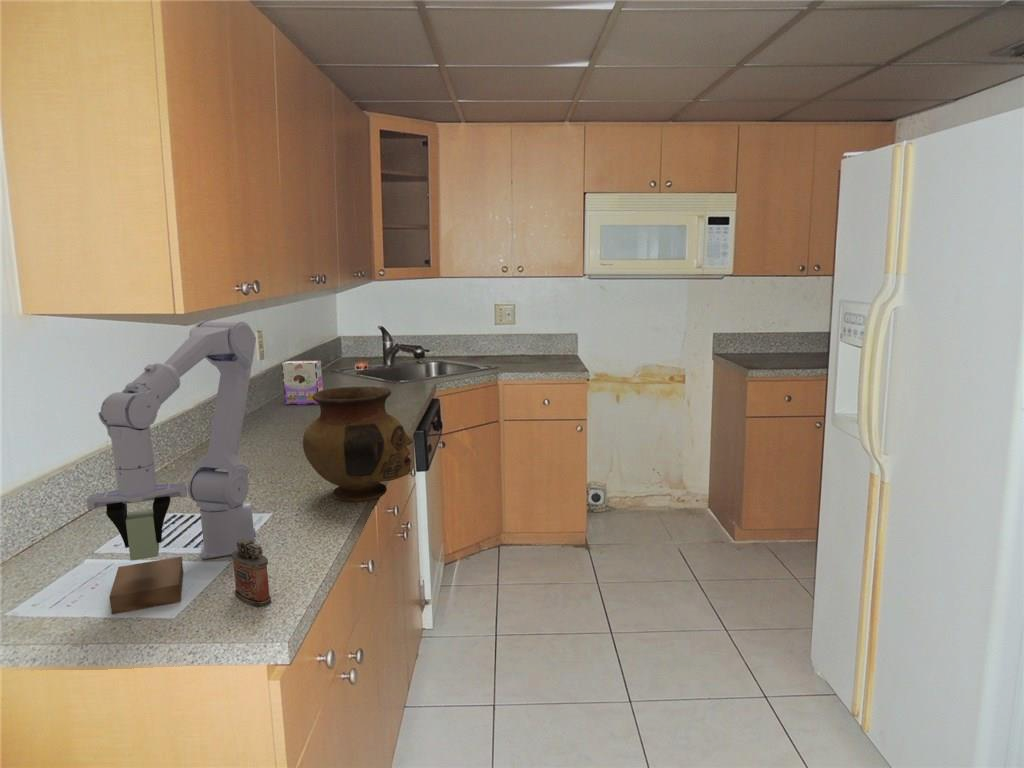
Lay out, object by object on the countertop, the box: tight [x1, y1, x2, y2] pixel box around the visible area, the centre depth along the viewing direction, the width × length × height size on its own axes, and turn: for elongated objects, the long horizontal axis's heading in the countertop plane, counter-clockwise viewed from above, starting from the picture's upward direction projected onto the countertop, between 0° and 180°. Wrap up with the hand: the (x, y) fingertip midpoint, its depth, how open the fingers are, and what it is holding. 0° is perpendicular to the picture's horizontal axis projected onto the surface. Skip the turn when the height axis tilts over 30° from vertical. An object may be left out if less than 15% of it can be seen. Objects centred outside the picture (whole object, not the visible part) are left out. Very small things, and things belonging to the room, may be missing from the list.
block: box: [126, 508, 160, 561], centre depth 118 cm, size 4×4×7 cm
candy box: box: [281, 360, 324, 405], centre depth 272 cm, size 14×6×16 cm, turn 84°
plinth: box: [108, 556, 184, 615], centre depth 119 cm, size 10×12×3 cm
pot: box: [302, 386, 414, 503], centre depth 166 cm, size 25×24×25 cm
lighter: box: [230, 539, 272, 609], centre depth 116 cm, size 8×3×10 cm, turn 52°
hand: (143, 543), depth 118 cm, fingers closed on block, 4 cm apart
